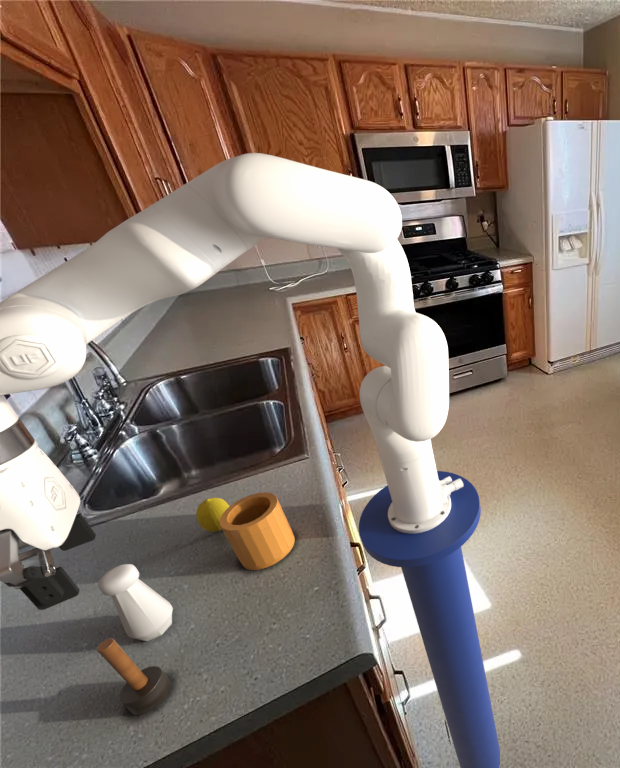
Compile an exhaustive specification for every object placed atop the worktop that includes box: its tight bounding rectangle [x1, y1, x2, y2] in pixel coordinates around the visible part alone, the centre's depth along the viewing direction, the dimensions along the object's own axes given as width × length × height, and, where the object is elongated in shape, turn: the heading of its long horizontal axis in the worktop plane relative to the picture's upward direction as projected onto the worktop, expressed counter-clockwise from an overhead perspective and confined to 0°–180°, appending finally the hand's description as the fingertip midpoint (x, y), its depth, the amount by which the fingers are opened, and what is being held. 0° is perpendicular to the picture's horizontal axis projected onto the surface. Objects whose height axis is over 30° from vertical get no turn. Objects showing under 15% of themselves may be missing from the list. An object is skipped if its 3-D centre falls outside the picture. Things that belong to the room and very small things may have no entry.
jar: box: [219, 491, 296, 571], centre depth 76 cm, size 9×9×10 cm
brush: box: [96, 638, 172, 716], centre depth 54 cm, size 5×5×12 cm
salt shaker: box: [97, 563, 174, 642], centre depth 63 cm, size 6×6×13 cm
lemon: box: [195, 497, 231, 533], centre depth 82 cm, size 6×6×8 cm
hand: (71, 570), depth 48 cm, fingers open, 9 cm apart
